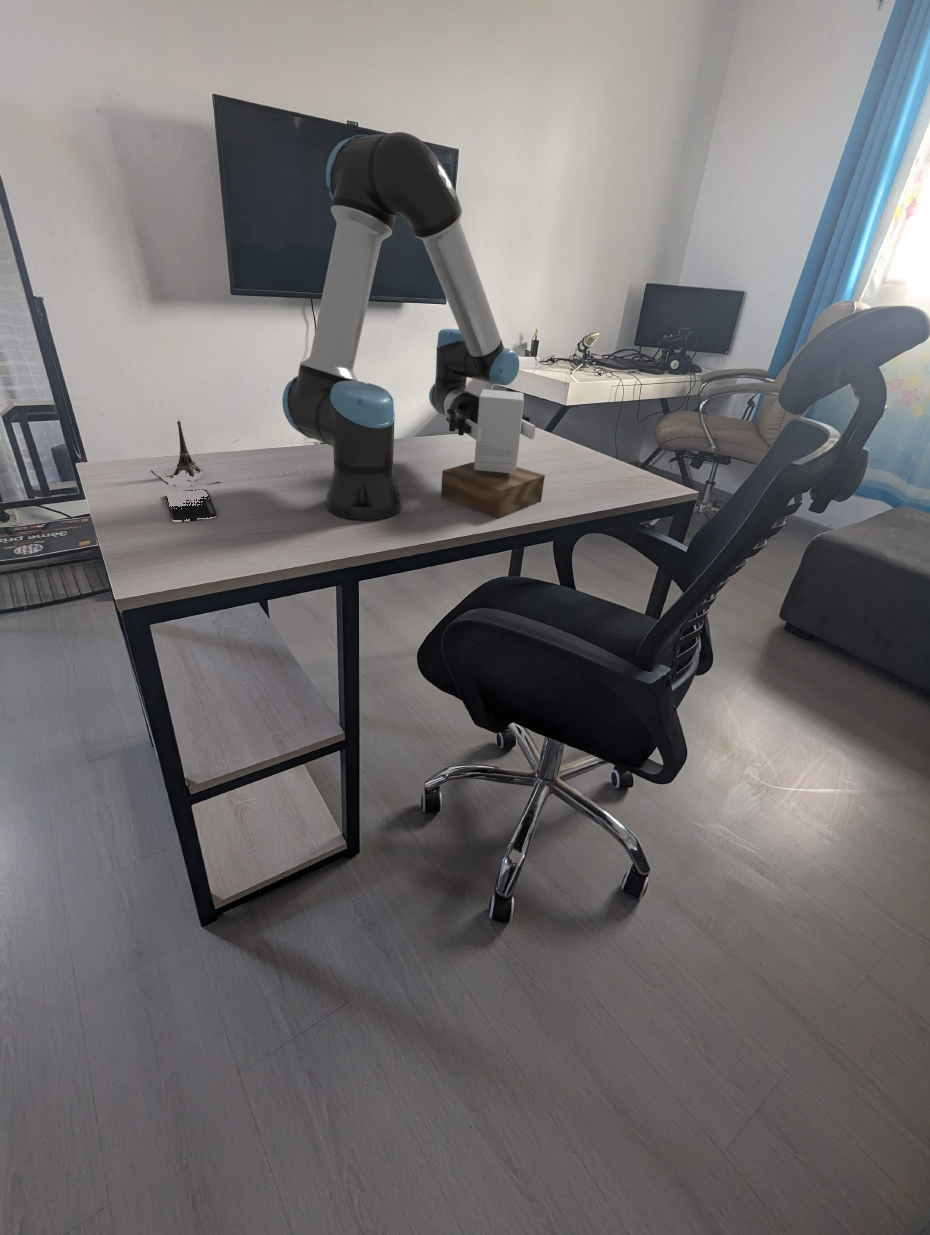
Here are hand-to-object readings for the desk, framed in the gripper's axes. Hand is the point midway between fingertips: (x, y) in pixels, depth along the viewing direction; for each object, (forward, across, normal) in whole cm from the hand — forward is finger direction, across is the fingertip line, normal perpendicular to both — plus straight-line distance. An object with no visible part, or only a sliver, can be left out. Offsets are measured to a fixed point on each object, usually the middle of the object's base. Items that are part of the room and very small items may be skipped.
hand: (506, 433), depth 120 cm
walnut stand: (-4, 0, -16) cm, 16 cm away
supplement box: (-4, 0, -8) cm, 9 cm away
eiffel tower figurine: (-31, +62, -16) cm, 71 cm away
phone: (-12, +61, -16) cm, 64 cm away
